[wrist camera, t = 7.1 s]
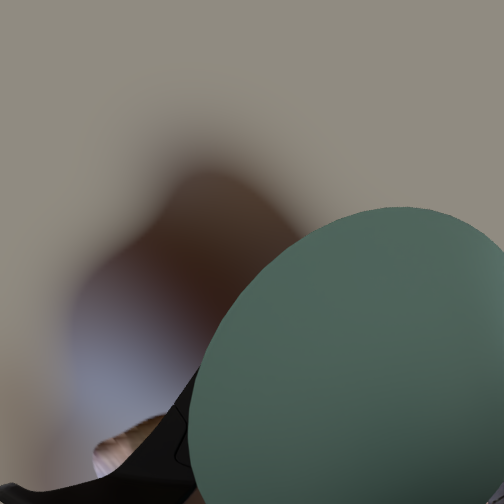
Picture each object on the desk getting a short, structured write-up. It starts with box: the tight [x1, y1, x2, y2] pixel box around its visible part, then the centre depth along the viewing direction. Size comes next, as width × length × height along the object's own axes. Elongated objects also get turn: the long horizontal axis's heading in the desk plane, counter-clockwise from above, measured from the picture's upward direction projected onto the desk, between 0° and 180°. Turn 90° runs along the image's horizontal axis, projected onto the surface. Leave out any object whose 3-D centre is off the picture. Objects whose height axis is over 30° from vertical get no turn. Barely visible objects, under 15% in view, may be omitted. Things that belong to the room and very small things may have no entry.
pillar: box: [188, 207, 504, 504], centre depth 8 cm, size 5×5×13 cm
